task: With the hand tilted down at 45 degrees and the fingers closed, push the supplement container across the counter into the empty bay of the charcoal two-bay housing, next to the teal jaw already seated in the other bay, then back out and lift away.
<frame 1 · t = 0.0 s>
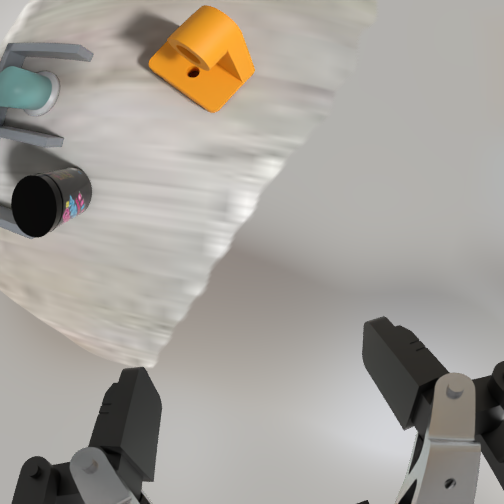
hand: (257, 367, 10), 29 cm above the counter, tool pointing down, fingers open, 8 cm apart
bracket: (200, 71, 31), on the counter
supplement container: (73, 191, 34), on the counter
housing: (21, 175, 32), on the counter
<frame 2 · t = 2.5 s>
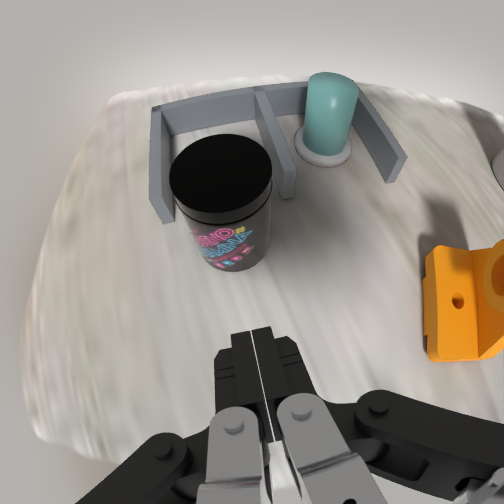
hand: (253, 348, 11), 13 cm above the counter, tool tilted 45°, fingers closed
bracket: (450, 309, 24), on the counter
supplement container: (234, 242, 28), on the counter
housing: (218, 162, 32), on the counter
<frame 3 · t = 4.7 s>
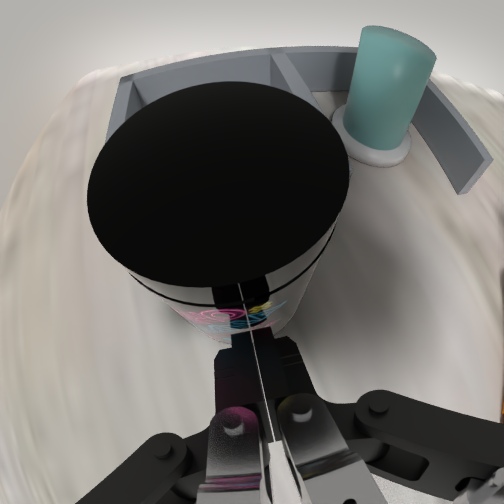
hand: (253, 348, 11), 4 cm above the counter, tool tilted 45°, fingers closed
supplement container: (240, 287, 17), on the counter, touching gripper
housing: (216, 155, 20), on the counter
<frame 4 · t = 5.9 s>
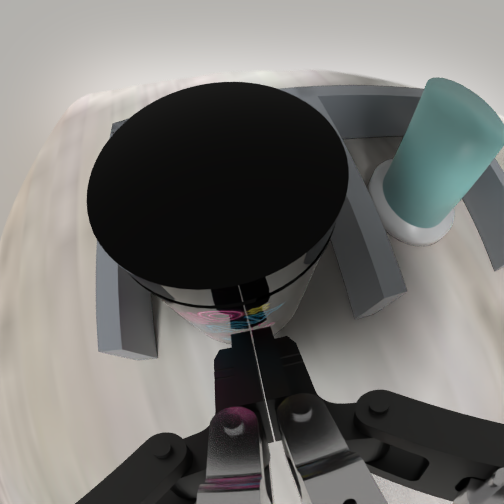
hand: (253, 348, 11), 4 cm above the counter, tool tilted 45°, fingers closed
supplement container: (241, 287, 17), on the counter, touching gripper
housing: (235, 234, 18), on the counter
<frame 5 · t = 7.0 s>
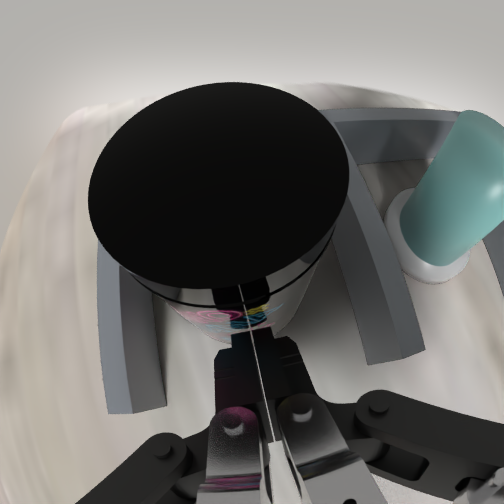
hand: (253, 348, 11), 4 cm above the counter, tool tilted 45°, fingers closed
supplement container: (241, 287, 17), on the counter, touching gripper
housing: (244, 276, 17), on the counter
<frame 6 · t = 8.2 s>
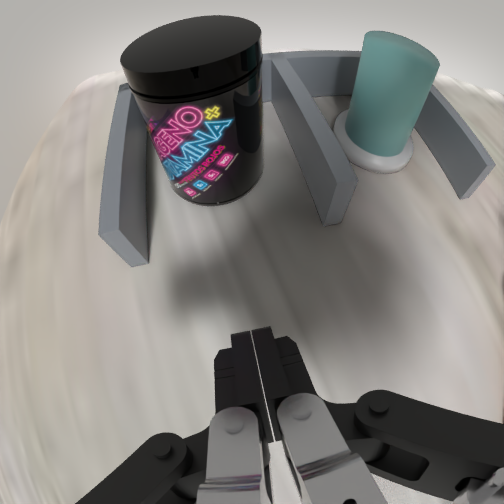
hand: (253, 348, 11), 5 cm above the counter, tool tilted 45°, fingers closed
supplement container: (216, 173, 20), on the counter
housing: (219, 164, 20), on the counter
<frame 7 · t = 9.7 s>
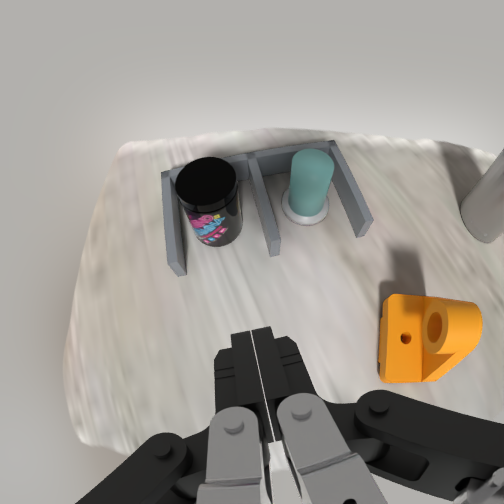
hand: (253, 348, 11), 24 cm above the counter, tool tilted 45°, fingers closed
bracket: (403, 341, 33), on the counter
supplement container: (218, 227, 40), on the counter
housing: (219, 222, 40), on the counter
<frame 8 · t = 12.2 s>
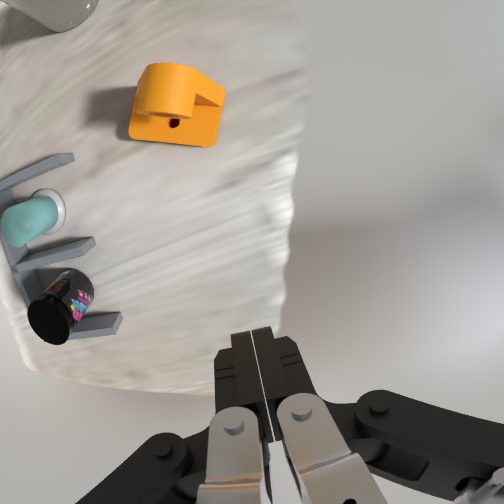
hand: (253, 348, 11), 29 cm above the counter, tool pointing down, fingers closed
bracket: (178, 115, 34), on the counter
supplement container: (77, 287, 39), on the counter
housing: (73, 286, 39), on the counter
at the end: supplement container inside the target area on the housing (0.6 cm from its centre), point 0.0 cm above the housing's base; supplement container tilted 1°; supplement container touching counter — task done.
